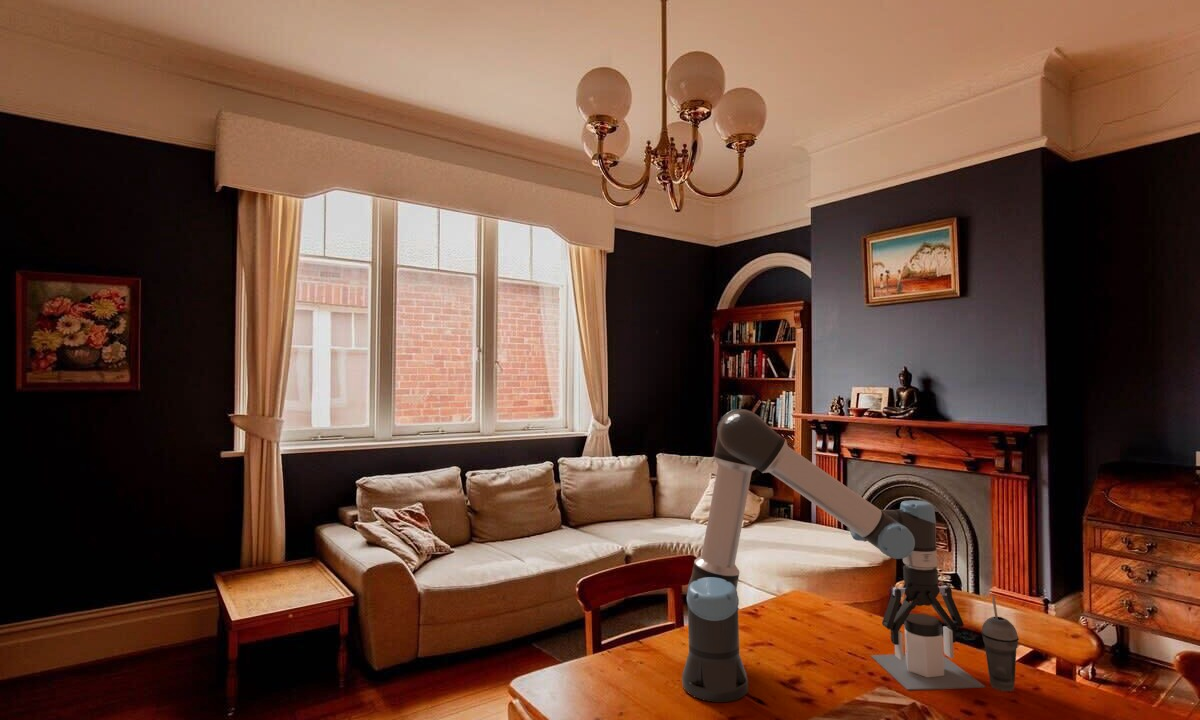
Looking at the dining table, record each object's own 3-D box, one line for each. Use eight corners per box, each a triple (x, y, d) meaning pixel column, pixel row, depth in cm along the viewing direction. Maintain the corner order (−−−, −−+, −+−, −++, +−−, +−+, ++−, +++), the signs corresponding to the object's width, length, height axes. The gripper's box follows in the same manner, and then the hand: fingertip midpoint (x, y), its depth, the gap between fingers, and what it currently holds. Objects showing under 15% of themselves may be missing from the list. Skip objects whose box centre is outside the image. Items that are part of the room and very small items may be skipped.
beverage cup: (1003, 696, 138) (999, 605, 139) (975, 682, 145) (971, 594, 146) (1029, 691, 140) (1024, 601, 141) (1000, 677, 147) (996, 591, 148)
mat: (907, 690, 142) (907, 689, 142) (870, 656, 160) (870, 655, 160) (985, 687, 143) (985, 686, 143) (939, 654, 161) (939, 652, 161)
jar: (951, 670, 150) (949, 620, 151) (936, 681, 145) (934, 629, 146) (913, 658, 157) (911, 610, 158) (898, 668, 152) (896, 618, 153)
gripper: (879, 571, 148) (883, 665, 147) (977, 568, 149) (982, 661, 148) (864, 562, 156) (868, 651, 155) (958, 560, 157) (962, 648, 156)
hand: (924, 656), depth 151 cm, fingers open, 11 cm apart
